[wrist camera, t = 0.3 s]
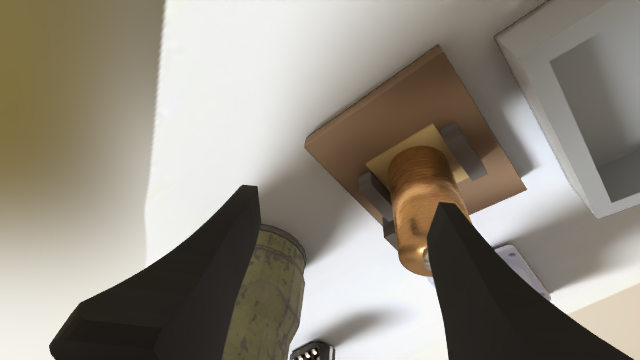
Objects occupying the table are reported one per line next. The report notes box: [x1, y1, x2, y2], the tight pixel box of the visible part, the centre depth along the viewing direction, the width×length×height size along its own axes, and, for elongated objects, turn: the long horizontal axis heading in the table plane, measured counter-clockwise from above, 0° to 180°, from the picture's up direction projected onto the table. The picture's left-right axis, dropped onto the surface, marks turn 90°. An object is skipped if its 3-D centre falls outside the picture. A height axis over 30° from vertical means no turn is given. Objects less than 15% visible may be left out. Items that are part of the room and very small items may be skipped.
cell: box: [388, 146, 472, 277], centre depth 19 cm, size 4×4×8 cm
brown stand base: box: [304, 45, 527, 251], centre depth 22 cm, size 12×10×4 cm
